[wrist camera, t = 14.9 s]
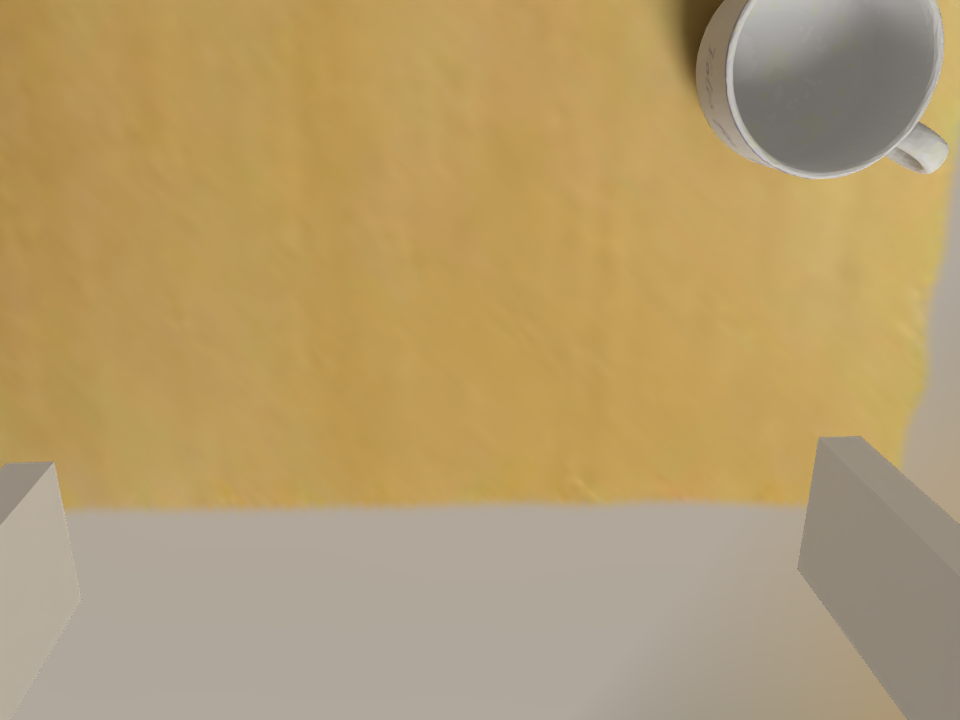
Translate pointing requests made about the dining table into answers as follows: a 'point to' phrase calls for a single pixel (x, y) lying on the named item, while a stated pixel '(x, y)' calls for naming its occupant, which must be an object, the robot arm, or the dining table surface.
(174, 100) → the dining table surface
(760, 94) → the teacup
